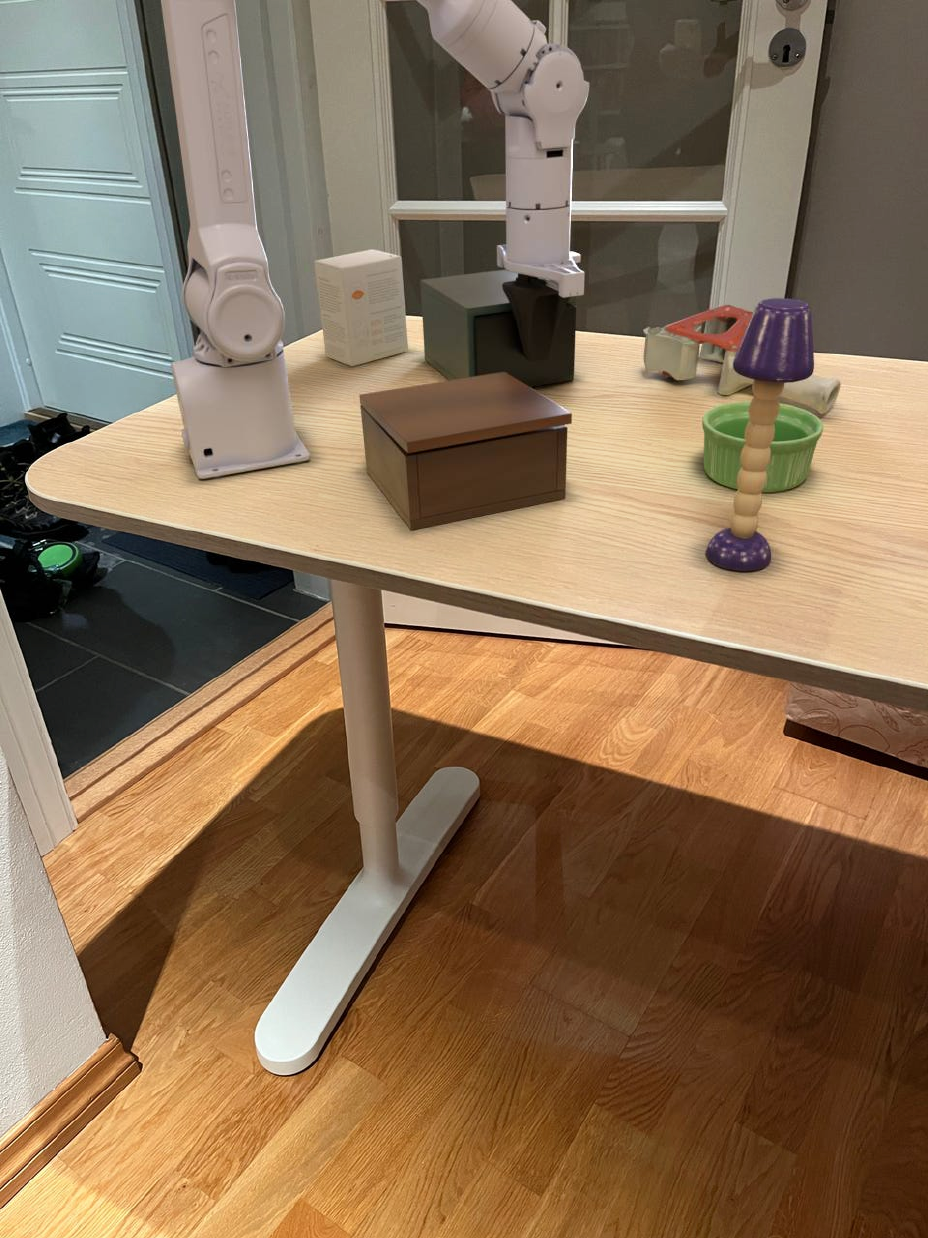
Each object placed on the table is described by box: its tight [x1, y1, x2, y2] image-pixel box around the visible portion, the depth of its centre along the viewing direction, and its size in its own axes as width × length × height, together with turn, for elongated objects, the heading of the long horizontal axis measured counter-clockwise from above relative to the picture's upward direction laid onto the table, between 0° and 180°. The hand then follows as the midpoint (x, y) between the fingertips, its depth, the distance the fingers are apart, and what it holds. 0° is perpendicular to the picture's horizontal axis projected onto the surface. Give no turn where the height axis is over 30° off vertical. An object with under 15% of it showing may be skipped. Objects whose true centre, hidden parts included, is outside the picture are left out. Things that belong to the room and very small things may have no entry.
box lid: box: [358, 372, 573, 453], centre depth 69 cm, size 12×13×1 cm
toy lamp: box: [705, 297, 815, 572], centre depth 57 cm, size 5×5×17 cm
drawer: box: [473, 304, 577, 383], centre depth 93 cm, size 14×10×7 cm
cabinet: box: [419, 269, 578, 388], centre depth 95 cm, size 14×12×9 cm
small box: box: [314, 248, 409, 367], centre depth 100 cm, size 8×6×10 cm
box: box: [359, 404, 568, 531], centre depth 71 cm, size 12×13×6 cm
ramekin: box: [701, 400, 824, 493], centre depth 71 cm, size 9×9×4 cm
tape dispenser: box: [643, 304, 842, 415], centre depth 89 cm, size 18×5×20 cm
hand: (536, 358), depth 87 cm, fingers closed
